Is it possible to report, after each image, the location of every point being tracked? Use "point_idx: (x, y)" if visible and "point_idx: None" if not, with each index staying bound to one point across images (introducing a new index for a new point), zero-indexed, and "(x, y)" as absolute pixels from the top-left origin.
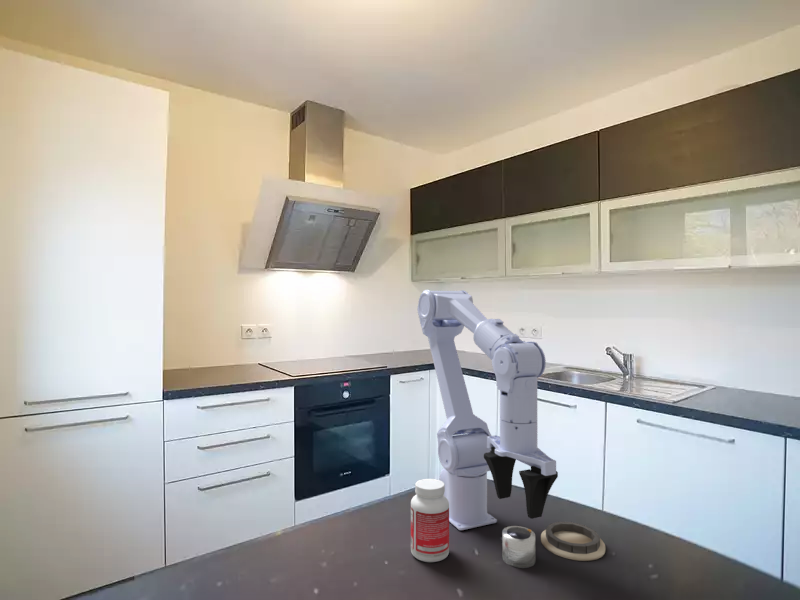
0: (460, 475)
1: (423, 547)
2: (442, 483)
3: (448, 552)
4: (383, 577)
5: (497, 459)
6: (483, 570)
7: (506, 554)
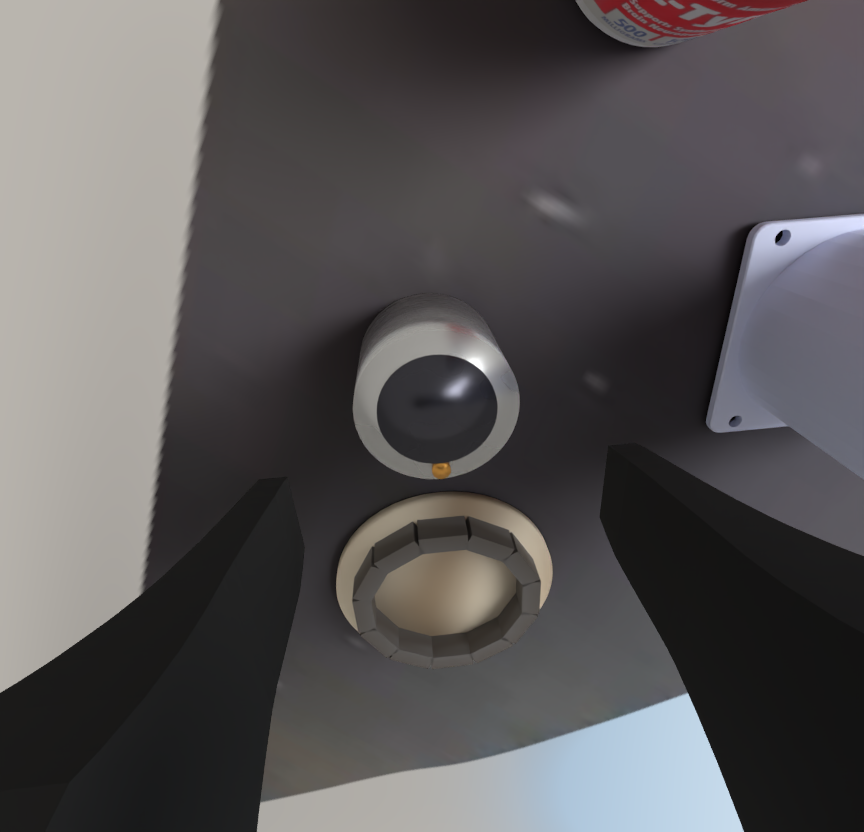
0: None
1: None
2: None
3: (585, 10)
4: None
5: (862, 737)
6: (397, 151)
7: (420, 305)
